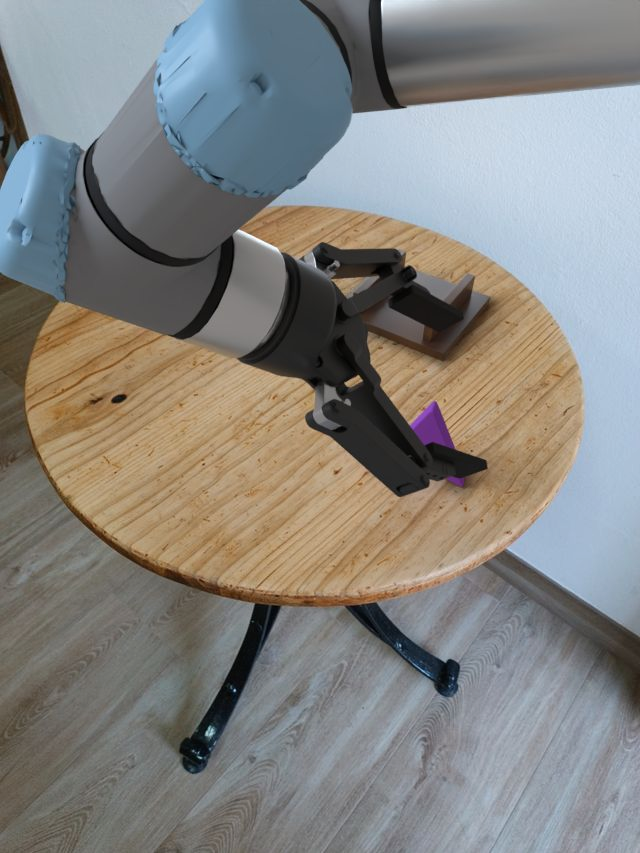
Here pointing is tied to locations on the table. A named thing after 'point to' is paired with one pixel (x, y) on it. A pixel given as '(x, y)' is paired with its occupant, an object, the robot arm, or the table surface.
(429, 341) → the rack
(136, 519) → the table surface
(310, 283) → the robot arm
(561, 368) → the table surface
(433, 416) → the arrowhead
